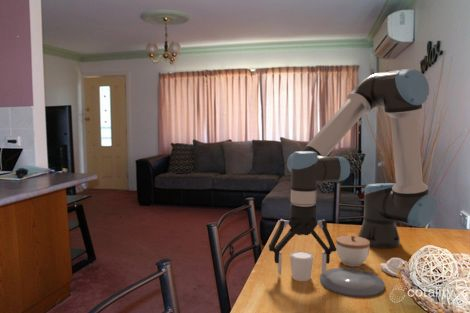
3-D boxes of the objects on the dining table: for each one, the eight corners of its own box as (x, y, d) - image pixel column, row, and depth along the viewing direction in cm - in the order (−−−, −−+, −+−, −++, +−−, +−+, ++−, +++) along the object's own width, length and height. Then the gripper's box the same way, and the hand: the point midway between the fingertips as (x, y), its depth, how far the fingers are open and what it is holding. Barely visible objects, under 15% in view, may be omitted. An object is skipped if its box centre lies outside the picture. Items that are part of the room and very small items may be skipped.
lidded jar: (364, 271, 124) (365, 242, 123) (330, 264, 130) (331, 236, 129) (372, 261, 133) (373, 234, 132) (340, 255, 139) (341, 229, 138)
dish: (371, 271, 125) (371, 267, 124) (394, 296, 107) (395, 293, 107) (314, 270, 124) (314, 267, 124) (328, 296, 106) (328, 292, 106)
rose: (415, 256, 126) (415, 266, 117) (414, 269, 127) (414, 281, 118) (382, 251, 130) (379, 261, 122) (381, 264, 131) (379, 275, 122)
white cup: (312, 283, 115) (313, 259, 115) (288, 280, 117) (289, 257, 116) (312, 273, 122) (313, 251, 121) (290, 272, 123) (290, 250, 123)
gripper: (341, 201, 121) (339, 268, 123) (260, 200, 121) (259, 268, 123) (348, 206, 114) (346, 278, 116) (262, 206, 113) (261, 278, 115)
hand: (301, 273), depth 119 cm, fingers open, 13 cm apart
